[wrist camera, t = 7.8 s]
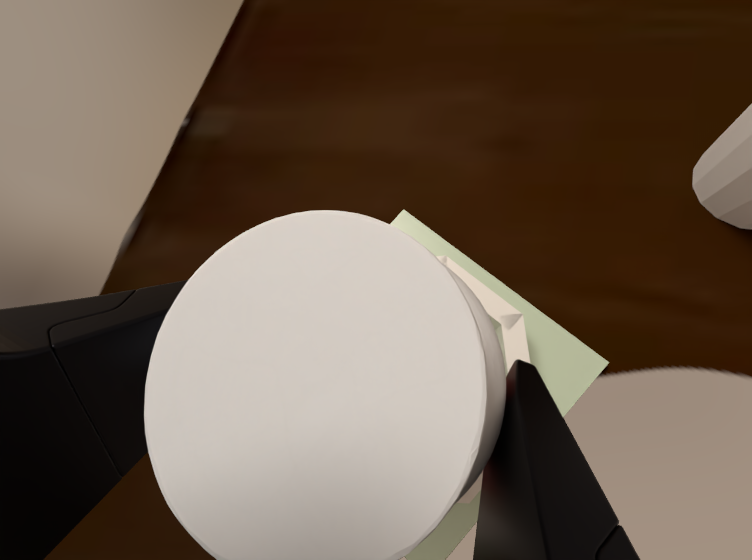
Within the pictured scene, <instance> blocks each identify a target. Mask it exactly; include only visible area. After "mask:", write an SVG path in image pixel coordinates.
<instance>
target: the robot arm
mask: <svg viewBox="0 0 752 560" xmlns="http://www.w3.org/2000/svg"><path fill="white" fill-rule="evenodd" d="M187 281H188V280H186V281H180V282H175V283H169V284H164V285H158V286H152V287H147V288H141V289H138V290H137V291H136V290H130V291H124V292H119V293H113V294H107V295H101V296H95V297H88V298H81V299H74V300H67V301H61V302H53V303H45V304H37V305H29V306H21V307H14V308H6V309H0V560H43V559H44V558H45V557H46V556H47V555H48V554H49V553H50V552H51V551H52V550H53V549H54V548H55V547H56V546H57V545H58V544H59V543H60V542H61V541H62V540H63V539H64V538H65V537H66V536H67V534H68V533H69V532H70V531H71V530H72V529H73V528H74V527H75V526H76V525H77V524H78V523H79V522H80V521H81V520H82V519H83V518H84V517H85V516H86V515H87V514H88V513H89V512H90V511H91V510H92V509H93V508H94V507H95V506H96V505H97V504H98V503H99V502H100V501H101V500H102V499H103V497H104V496H105V495H106V494H107V493H108V492H109V491H110V490H111V489H112V488H113V487H114V486H115V485H116V484H117V483H118V482H119V481H120V480H121V479H122V477H123V476H125V475H126V474H127V473H128V471H129V470H130V469H131V468H132V467H133V466H134V465H135V464H136V463H137V462H138V461H139V460H140V459H141V458H142V457H143V456H144V455H145V454H146V453H147V452H148V447H147V441H146V435H145V422H144V404H145V384H146V379H147V373H148V368H149V363H150V358H151V354H152V351H153V348H154V344H155V341H156V338H157V335H158V332H159V330H160V328H161V325H162V323H163V321H164V319H165V316H166V315H167V313H168V311H169V309H170V308H171V306H172V304H173V303H174V301H175V299H176V298H177V296H178V294H179V293H180V291H181V290H182V289H183V287H184V286H185V284H186V283H187ZM618 524H619V520H618V518H617V516H616V515H615V513H614V511H613V509H612V507H611V505H610V503H609V502H608V500H607V498H606V496H605V494H604V492H603V490H602V489H601V487H600V485H599V483H598V481H597V479H596V477H595V476H594V474H593V472H592V470H591V468H590V467H589V464H588V463H587V461H586V459H585V457H584V455H583V454H582V452H581V450H580V448H579V446H578V444H577V442H576V440H575V439H574V437H573V435H572V433H571V431H570V429H569V427H568V426H567V424H566V422H565V420H564V418H563V416H562V415H561V413H560V411H559V409H558V407H557V405H556V403H555V402H554V400H553V398H552V396H551V394H550V392H549V390H548V389H547V387H546V385H545V383H544V381H543V379H542V377H541V376H540V374H539V372H538V370H537V368H536V367H535V366H534V365H533V364H530V363H528V362H525V361H522V360H520V359H517V360H515V361H514V363H513V365H512V367H511V368H510V370H509V372H508V374H507V376H506V402H505V411H504V417H503V422H502V426H501V430H500V434H499V437H498V439H497V442H496V445H495V447H494V450H493V452H492V455H491V457H490V459H489V461H488V462H487V464H486V466H485V468H484V469H483V477H482V486H481V494H480V503H479V512H478V521H477V529H476V538H475V547H474V555H473V560H640V558H639V556H638V555H637V553H636V551H635V549H634V547H633V546H632V544H631V542H630V540H629V538H628V536H627V535H626V533H625V531H624V529H623V528H622V526H620V525H618Z"/></svg>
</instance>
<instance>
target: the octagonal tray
mask: <svg viewBox="0 0 752 560" xmlns="http://www.w3.org/2000/svg"><path fill="white" fill-rule="evenodd" d="M390 225H392V226H394V227H396V228H398V229H400V230H401V231H403V232H404V233H406V234H408V235H410V236H412V237H413V238H414V239H415V240H417V241H418V242H419V243H421V244H422V245H423V246H425V247H426V248H427V249H428V250H429V251H430V252H431V253H433V254H434V255H435V256H436V257H437V258H438V260H439V261H440V262H441V263H443V264H444V265H445V266H447V267H448V268H449V269H451V270H452V271H453V272H454V273H455V274H456V275H458V276H459V277H460V278H461V279H462V280H463V281H464V282H465V283H466V284H467V286H468V287H469V288H470V289H471V290H472V291H473V293H474V294H475V295H476V296H477V298H478V299H479V300H480V302H481V304H482V305H483V307H484V308H485V310H486V312H487V313H488V315H489V317H490V319H491V322H492V324H493V326H494V329H495V331H496V334H497V336H498V339H499V343H500V347H501V350H502V354H503V359H504V365H505V375H506V376H507V374H508V372H509V370H510V368H511V367H512V365H513V363H514V361H515V360H517V359H520V360H522V361H525V362H528V363H530V364H533V365H534V366H535V367H536V368H537V370H538V372H539V374H540V376H541V377H542V379H543V381H544V383H545V385H546V387H547V389H548V390H549V392H550V394H551V396H552V398H553V400H554V402H555V403H556V405H557V407H558V409H559V411H560V413H561V415H562V416H563V417H564V416H565V415H566V414H567V413H568V411H569V410H570V409H571V408H572V407H573V405H574V404H575V403H576V402H577V401H578V399H579V398H580V397H581V396H582V394H583V393H584V392H585V391H586V390H587V388H588V387H589V386H590V385H591V384H592V382H593V381H594V380H595V379H596V378H597V377H598V375H599V374H600V373H601V372H602V371H603V369H604V368H605V367H606V366H607V364H608V363H609V362H608V361H606V360H605V359H604V358H602V357H601V356H600V355H598V354H597V353H596V352H594V351H593V350H592V349H590V348H589V347H588V346H586V345H585V344H583V343H582V342H581V341H579V340H578V339H577V338H575V337H574V336H573V335H571V334H570V333H569V332H567V331H566V330H565V329H563V328H562V327H561V326H559V325H558V324H557V323H555V322H554V321H553V320H551V319H550V318H549V317H547V316H546V315H545V314H543V313H542V312H541V311H539V310H538V309H537V308H535V307H534V306H532V305H531V304H530V303H528V302H527V301H526V300H524V299H523V298H522V297H520V296H519V295H518V294H516V293H515V292H514V291H512V290H511V289H510V288H508V287H507V286H506V285H504V284H503V283H502V282H500V281H499V280H498V279H496V278H495V277H494V276H492V275H491V274H490V273H488V272H487V271H486V270H484V269H483V268H481V267H480V266H479V265H477V264H476V263H475V262H473V261H472V260H471V259H469V258H468V257H467V256H465V255H464V254H463V253H461V252H460V251H459V250H457V249H456V248H455V247H453V246H452V245H451V244H449V243H448V242H447V241H445V240H444V239H443V238H441V237H440V236H439V235H437V234H436V233H435V232H433V231H432V230H431V229H429V228H428V227H426V226H425V225H424V224H422V223H421V222H420V221H418V220H417V219H416V218H414V217H413V216H412V215H410V214H409V213H408V212H406V211H405V210H403V211H402V212H401V213H400V214H399V215H398V216H397V217H396V218H395V219H394V221H393V222H392V223H391V224H390ZM482 477H483V471H482V473H481V474H480V476H479V477H478V479H477V480H476V482H475V483H474V484H473V485H472V486H471V488H470V489H469V490H468V491H467V492H466V494H465V495H464V496H463V497H462V498H461V499H460V500H459V501H458V502H457V503H456V504H455V505H454V506H453V507H452V509H451V510H450V511H449V513H448V514H447V515H446V516H445V518H444V519H443V520H442V521H441V523H440V524H439V525H438V526H437V528H436V529H435V530H434V531H433V532H432V533H431V534H430V535H429V536H428V537H427V538H426V539H424V540H423V541H422V542H421V543H420V544H419V545H418V546H417V547H415V548H414V549H413V550H412V551H411V552H410V553H409V554H407V555H405V556H404V557H405V558H406V559H407V560H446V558H447V557H448V556H449V555H450V553H451V552H452V551H453V550H454V549H455V547H456V546H457V545H458V544H459V543H460V541H461V540H462V539H463V538H464V537H465V535H466V534H467V533H468V532H469V531H470V529H471V528H472V527H473V526H474V525H475V523H476V522H477V521H478V512H479V503H480V494H481V486H482Z"/></svg>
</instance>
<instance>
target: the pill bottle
mask: <svg viewBox="0 0 752 560" xmlns="http://www.w3.org/2000/svg"><path fill="white" fill-rule="evenodd" d="M505 402H506V375H505V365H504V359H503V354H502V350H501V347H500V343H499V339H498V336H497V334H496V331H495V329H494V326H493V324H492V322H491V319H490V317H489V315H488V313H487V312H486V310H485V308H484V307H483V305H482V304H481V302H480V300H479V299H478V298H477V296H476V295H475V294H474V293H473V291H472V290H471V289H470V288H469V287H468V286H467V284H466V283H465V282H464V281H463V280H462V279H461V278H460V277H459V276H458V275H456V274H455V273H454V272H453V271H452V270H451V269H449V268H448V267H447V266H445V265H444V264H443V263H441V262H440V261H439V260H438V258H437V257H436V256H435V255H434V254H433V253H431V252H430V251H429V250H428V249H427V248H426V247H425V246H423V245H422V244H421V243H419V242H418V241H417V240H415V239H414V238H413V237H412V236H410V235H408V234H406V233H404V232H403V231H401V230H400V229H398V228H396V227H394V226H392V225H389V224H387V223H385V222H382V221H380V220H377V219H375V218H372V217H369V216H365V215H361V214H358V213H351V212H344V211H331V210H321V211H307V212H301V213H293V214H290V215H286V216H282V217H279V218H275V219H272V220H270V221H267V222H264V223H262V224H260V225H258V226H256V227H253V228H251V229H249V230H248V231H246V232H244V233H242V234H241V235H239V236H238V237H236V238H234V239H233V240H231V241H230V242H228V243H227V244H226V245H224V246H223V247H222V248H220V249H219V250H218V251H217V252H215V253H214V254H213V255H212V256H211V257H210V258H209V259H208V260H207V261H206V262H205V263H204V264H203V265H202V266H201V267H200V268H199V269H198V270H197V271H196V272H195V273H194V274H193V276H192V277H191V278H190V279H189V280H188V281H187V283H186V284H185V286H184V287H183V289H182V290H181V291H180V293H179V294H178V296H177V298H176V299H175V301H174V303H173V304H172V306H171V308H170V309H169V311H168V313H167V315H166V316H165V319H164V321H163V323H162V325H161V328H160V330H159V332H158V335H157V338H156V341H155V344H154V348H153V351H152V354H151V358H150V363H149V368H148V373H147V379H146V384H145V404H144V422H145V435H146V441H147V447H148V452H149V456H150V459H151V463H152V466H153V469H154V473H155V476H156V479H157V481H158V484H159V487H160V489H161V492H162V494H163V496H164V498H165V500H166V502H167V504H168V506H169V507H170V509H171V510H172V512H173V513H174V515H175V516H176V518H177V519H178V520H179V522H180V523H181V524H182V525H183V526H184V528H185V529H186V530H187V531H188V533H189V534H190V535H191V536H192V537H193V538H194V539H195V540H196V541H197V542H198V543H199V544H200V545H201V546H202V547H203V548H204V549H205V550H206V551H207V552H209V553H210V554H211V555H212V556H213V557H215V558H216V559H217V560H399V559H401V558H402V557H404V556H405V555H407V554H409V553H410V552H411V551H412V550H413V549H414V548H415V547H417V546H418V545H419V544H420V543H421V542H422V541H423V540H424V539H426V538H427V537H428V536H429V535H430V534H431V533H432V532H433V531H434V530H435V529H436V528H437V526H438V525H439V524H440V523H441V521H442V520H443V519H444V518H445V516H446V515H447V514H448V513H449V511H450V510H451V509H452V507H453V506H454V505H455V504H456V503H457V502H458V501H459V500H460V499H461V498H462V497H463V496H464V495H465V494H466V492H467V491H468V490H469V489H470V488H471V486H472V485H473V484H474V483H475V482H476V480H477V479H478V477H479V476H480V474H481V473H482V471H483V469H484V468H485V466H486V464H487V462H488V461H489V459H490V457H491V455H492V452H493V450H494V447H495V445H496V442H497V439H498V437H499V434H500V430H501V426H502V422H503V417H504V411H505Z"/></svg>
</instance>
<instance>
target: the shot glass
mask: <svg viewBox="0 0 752 560" xmlns="http://www.w3.org/2000/svg"><path fill="white" fill-rule="evenodd" d="M692 186H693V189H694V191H695V193H696V195H697V197H698V199H699V201H700V203H701V204H702V205H703V206H704V207H705V208H706V209H707V210H708V211H709V212H711V213H712V214H713V215H714V216H715V217H716V218H718V219H720V220H722V221H725V222H727V223H729V224H731V225H734V226H736V227H738V228H744V229H752V104H751V105H750V106H749V107H748V108H747V109H746V110H745V111H744V112H743V113H742V114H741V115H740V116H739V117H738V118H737V119H736V120H735V122H734V123H733V124H732V125H731V126H730V127H729V128H728V129H727V130H726V131H725V132H724V133H723V134H722V135H721V136H720V137H719V138H718V139H717V140H716V141H715V142H714V143H713V144H712V145H711V146H710V147H709V149H708V150H707V151H706V152H705V153H704V154H703V155H702V156H701V158H700V160H699V161H698V163H697V164H696V166H695V167H694V169H693V183H692Z"/></svg>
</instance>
